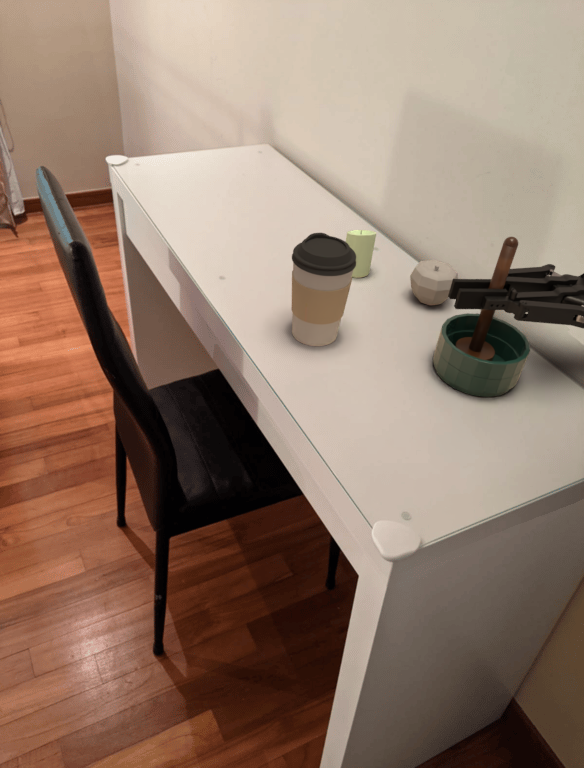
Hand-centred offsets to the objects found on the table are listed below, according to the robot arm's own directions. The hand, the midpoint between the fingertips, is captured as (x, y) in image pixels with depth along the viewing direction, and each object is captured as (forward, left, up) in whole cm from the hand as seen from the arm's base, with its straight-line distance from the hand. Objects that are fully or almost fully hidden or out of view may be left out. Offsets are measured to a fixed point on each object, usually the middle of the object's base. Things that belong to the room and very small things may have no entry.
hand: (454, 293), depth 81 cm
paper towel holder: (-1, -5, -11) cm, 12 cm away
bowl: (-3, -5, -12) cm, 14 cm away
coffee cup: (+12, +14, -13) cm, 22 cm away
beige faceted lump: (+16, -9, -13) cm, 23 cm away
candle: (+28, -1, -13) cm, 31 cm away
